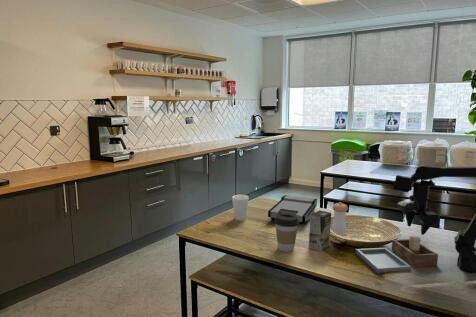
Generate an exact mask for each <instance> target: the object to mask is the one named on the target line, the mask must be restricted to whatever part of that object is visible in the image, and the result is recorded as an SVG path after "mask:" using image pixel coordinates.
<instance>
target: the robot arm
mask: <svg viewBox="0 0 476 317" xmlns="http://www.w3.org/2000/svg"><path fill="white" fill-rule="evenodd" d="M444 177H445V178H476V165H475V166H437V165H433V164H427V163H422V164H419V165H418V166H417V167H416V169H415V172H414V173H413V174H411V176H405V175H400V174H396V176H395V179H394V180H395V181H394V184H393V191H394V192H401V193H406V194H408V193H409V192H412V194H411V195H409V198H408V199H405V200H402V201H399V202H397V207H398V211H401V212H402V213H403V214H404V215H405V220H406V224H407V225H406V226H407V227H411V226H412V224H413V221H414V219H415V216H416V213H417V214H419V219H418V221H420V224H421V226H420V234H421V235H422V236H424V235H425V234H426V233H427V231H428V230H429V229H430V228H431V227H432V226H433V224H434V223H437V222H440V215H439V213H435V212H434V211H429V210H430V208H429V207H428V202H431V198H429V194H430V187H435V186H436V182H434V181H433V179H437V178H444ZM412 189H413V190H412ZM475 244H476V213H475V214H474V215H473V217H472V218H471V221H470V222H469V224H468V225H467V227H466V228H465V229H464V230H463V231H462V230H461V229H459V230H458V232H457V234H456V236H454V247H455V248H454V249H455V250H456V252H457V253H458V256H457V262H456V266H457V268H458V269H459V270H461V271H462V272H464V273H469V274H476V247H475Z"/></svg>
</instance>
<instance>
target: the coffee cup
mask: <svg viewBox="0 0 476 317" xmlns="http://www.w3.org/2000/svg"><path fill="white" fill-rule="evenodd" d="M273 222H274V224H275V233H276V242H277V248H278V250H279V251H281V252H285V253H287V252H292V251H294V248H295V246H296V239H297V234H298V226H299V225H300V224H299V220H298V219H297V217H296V216H295V215H292V214H280V215H278V216H277V218H275V220H273Z"/></svg>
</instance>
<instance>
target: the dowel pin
mask: <svg viewBox="0 0 476 317" xmlns="http://www.w3.org/2000/svg"><path fill="white" fill-rule="evenodd" d="M409 239H410V241H409V250H411V251H412V252H414V253H415V254H419V248H420V243H421V238H420V237H419V236H416V235H411V236H409Z"/></svg>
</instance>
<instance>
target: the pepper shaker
mask: <svg viewBox="0 0 476 317" xmlns="http://www.w3.org/2000/svg"><path fill="white" fill-rule="evenodd" d="M332 210H333V220H332V222H331V224H332V225H331V232H332V231H333V232H334V233H336V234H338V235H341V236H346V237H347V223H346V216H347V211H348V210H349V208H348V205H347V204H344V203H343V202H341V201H339V202H338V203H337V202H335V203H334V204H333V205H332ZM330 241H331V242H333V243H336V244H341V243H340V242H339V241H337V240H335V239H333V238H332V237H331V236H330Z"/></svg>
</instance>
